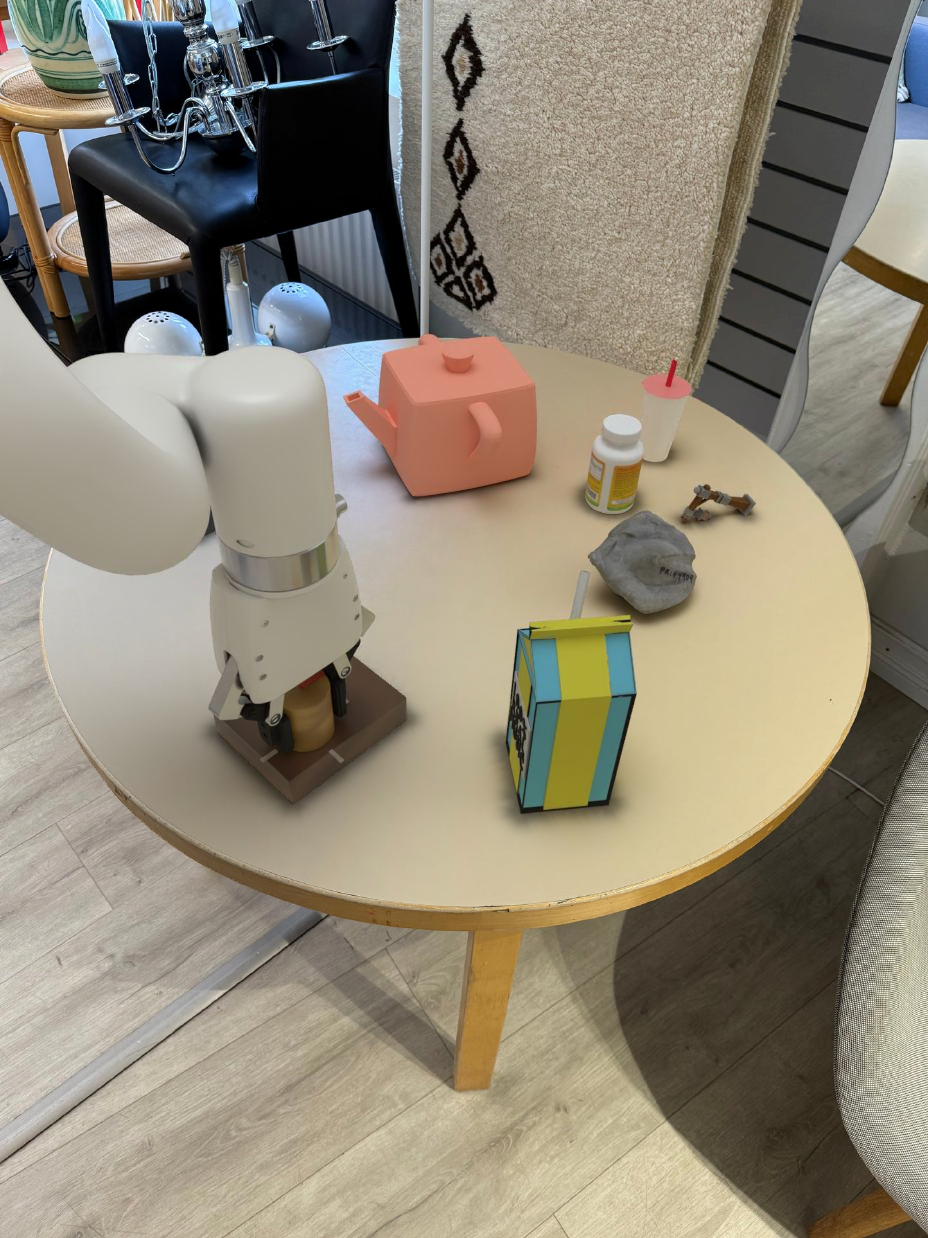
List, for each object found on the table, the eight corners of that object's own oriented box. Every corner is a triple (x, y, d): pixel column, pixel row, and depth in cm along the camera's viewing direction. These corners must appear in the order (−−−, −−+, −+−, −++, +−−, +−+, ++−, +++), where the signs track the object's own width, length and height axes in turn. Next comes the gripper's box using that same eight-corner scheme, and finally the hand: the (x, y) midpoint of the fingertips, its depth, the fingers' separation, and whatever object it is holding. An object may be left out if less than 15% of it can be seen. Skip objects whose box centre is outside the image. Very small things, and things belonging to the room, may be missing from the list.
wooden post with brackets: (671, 512, 96) (694, 477, 94) (724, 524, 100) (748, 491, 98) (679, 522, 95) (703, 487, 93) (733, 534, 99) (757, 501, 97)
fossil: (619, 640, 83) (633, 575, 78) (563, 583, 89) (572, 518, 83) (710, 601, 88) (730, 537, 82) (651, 549, 93) (666, 485, 88)
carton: (588, 727, 76) (622, 564, 63) (612, 805, 70) (653, 643, 58) (501, 735, 75) (518, 570, 63) (518, 814, 70) (539, 652, 57)
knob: (302, 762, 69) (295, 717, 65) (266, 730, 71) (257, 684, 67) (346, 730, 71) (341, 685, 67) (310, 699, 73) (304, 654, 70)
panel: (301, 818, 69) (297, 794, 67) (214, 734, 74) (207, 709, 72) (418, 729, 75) (417, 704, 73) (330, 658, 81) (327, 633, 79)
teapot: (481, 402, 113) (486, 294, 103) (554, 503, 98) (569, 389, 89) (325, 428, 107) (315, 317, 98) (378, 540, 93) (373, 422, 83)
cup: (684, 453, 106) (706, 360, 98) (659, 473, 103) (680, 378, 95) (646, 436, 108) (664, 343, 100) (620, 454, 106) (637, 360, 97)
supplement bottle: (639, 494, 100) (655, 417, 93) (625, 521, 96) (640, 443, 90) (593, 481, 102) (605, 404, 95) (577, 507, 98) (589, 429, 91)
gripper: (342, 465, 64) (355, 645, 77) (130, 575, 55) (185, 758, 68) (415, 512, 60) (417, 693, 73) (201, 638, 51) (245, 819, 64)
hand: (305, 722), depth 70 cm, fingers closed on knob, 4 cm apart
